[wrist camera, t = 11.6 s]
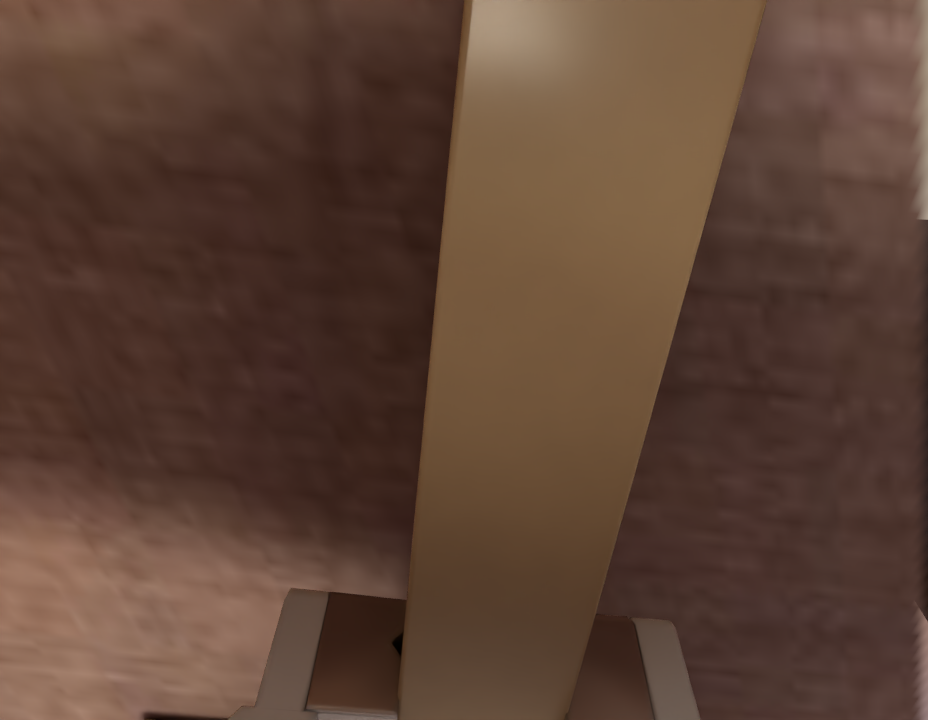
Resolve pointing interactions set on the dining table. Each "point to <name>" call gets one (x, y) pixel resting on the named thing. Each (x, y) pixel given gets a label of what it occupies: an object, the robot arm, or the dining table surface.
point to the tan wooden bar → (554, 326)
